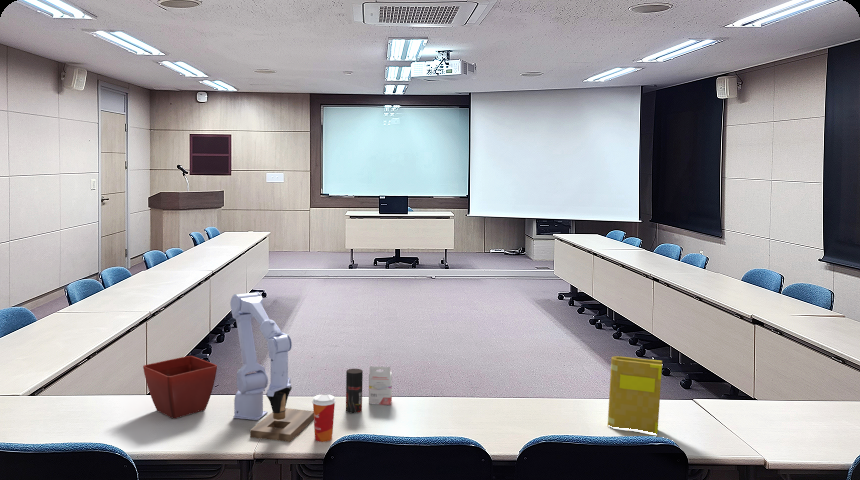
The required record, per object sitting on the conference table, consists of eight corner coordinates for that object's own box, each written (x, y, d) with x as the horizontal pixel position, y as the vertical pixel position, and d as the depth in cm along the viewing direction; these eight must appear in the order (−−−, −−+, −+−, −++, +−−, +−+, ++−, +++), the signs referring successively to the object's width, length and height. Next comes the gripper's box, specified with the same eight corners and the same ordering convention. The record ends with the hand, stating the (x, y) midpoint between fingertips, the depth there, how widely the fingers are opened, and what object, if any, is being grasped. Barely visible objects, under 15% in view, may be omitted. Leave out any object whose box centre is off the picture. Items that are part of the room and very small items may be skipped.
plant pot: (142, 410, 243) (141, 364, 241) (191, 397, 257) (191, 354, 255) (168, 424, 230) (168, 376, 228) (218, 410, 244) (218, 365, 243)
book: (657, 429, 238) (662, 360, 236) (657, 436, 232) (662, 365, 229) (608, 422, 244) (612, 355, 241) (606, 429, 237) (610, 359, 235)
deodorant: (359, 414, 245) (359, 374, 243) (343, 412, 246) (344, 372, 245) (363, 408, 251) (364, 369, 249) (348, 406, 252) (349, 368, 250)
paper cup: (312, 434, 225) (313, 393, 224) (335, 434, 226) (336, 393, 225) (310, 443, 218) (311, 401, 216) (334, 443, 218) (335, 401, 217)
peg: (271, 419, 224) (271, 395, 224) (276, 414, 228) (276, 391, 228) (282, 420, 224) (282, 396, 223) (287, 416, 228) (287, 393, 227)
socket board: (250, 437, 221) (250, 430, 221) (278, 414, 243) (278, 407, 242) (290, 441, 218) (290, 434, 218) (314, 418, 240) (314, 411, 240)
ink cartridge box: (391, 400, 260) (392, 363, 259) (390, 405, 255) (391, 367, 254) (369, 399, 261) (370, 362, 259) (368, 404, 256) (368, 366, 254)
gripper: (281, 378, 217) (281, 419, 218) (299, 366, 231) (298, 404, 232) (261, 376, 218) (261, 417, 219) (279, 364, 232) (279, 402, 234)
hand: (279, 410), depth 226 cm, fingers closed on peg, 4 cm apart
